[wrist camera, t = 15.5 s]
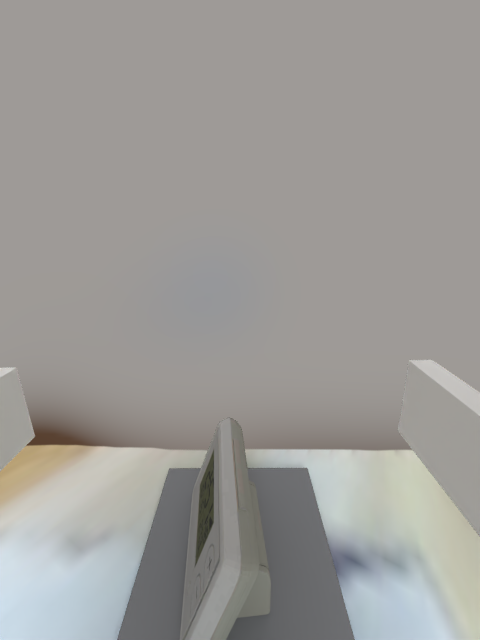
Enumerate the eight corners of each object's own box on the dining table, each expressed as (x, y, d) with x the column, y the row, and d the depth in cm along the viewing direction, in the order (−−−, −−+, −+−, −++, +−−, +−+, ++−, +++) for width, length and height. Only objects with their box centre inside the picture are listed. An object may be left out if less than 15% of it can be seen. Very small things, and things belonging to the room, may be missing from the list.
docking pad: (306, 474, 39) (307, 466, 39) (398, 819, 16) (402, 807, 16) (169, 474, 39) (169, 466, 39) (69, 817, 16) (64, 805, 16)
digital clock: (197, 487, 36) (192, 410, 33) (272, 494, 35) (274, 416, 32) (137, 679, 21) (118, 568, 18) (268, 701, 20) (271, 588, 17)
